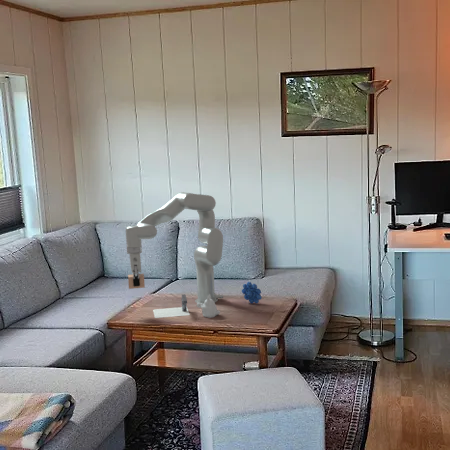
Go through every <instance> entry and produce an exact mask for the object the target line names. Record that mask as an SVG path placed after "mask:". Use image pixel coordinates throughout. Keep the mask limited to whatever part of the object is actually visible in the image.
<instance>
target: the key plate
mask: <svg viewBox="0 0 450 450" xmlns="http://www.w3.org/2000/svg"><path fill="white" fill-rule="evenodd" d="M152 312H153V315H154V316H153V317H154V319H162V318H171V317H172V318H174V317H182V316H183V317H184V316H185V317H186V316H190V315H191V314H190V312H189V309H188V308H187V311H182V306H181V307H179V306H178V307H167V308H157V309H153V310H152Z"/></svg>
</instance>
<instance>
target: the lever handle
mask: <svg viewBox="0 0 450 450" xmlns="http://www.w3.org/2000/svg"><path fill="white" fill-rule="evenodd" d="M187 304H188V299H187V296H186V293H185V294H181V307H182V311H187V309H188V305H187Z"/></svg>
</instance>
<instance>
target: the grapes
mask: <svg viewBox="0 0 450 450" xmlns="http://www.w3.org/2000/svg"><path fill="white" fill-rule="evenodd" d="M241 294H242V295H243V298H244V300H246V301H248V303H249V304H259V303H260V301H261V300H262V298H263V297H262V295H261V294H262V291H261V289H260V288H258V285H257V284H256V283H253V282H251V281H247V282H246V283H244V284H242V289H241Z"/></svg>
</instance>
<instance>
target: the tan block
mask: <svg viewBox="0 0 450 450" xmlns="http://www.w3.org/2000/svg"><path fill="white" fill-rule="evenodd" d="M134 277H135V276H134ZM133 279H134V278H133V273H132V274H128V275H127V282H128V289H129V290H130V289H141V288H143V289H144V288H146V287H145V274H144V273H139V279H140V286H133Z"/></svg>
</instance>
